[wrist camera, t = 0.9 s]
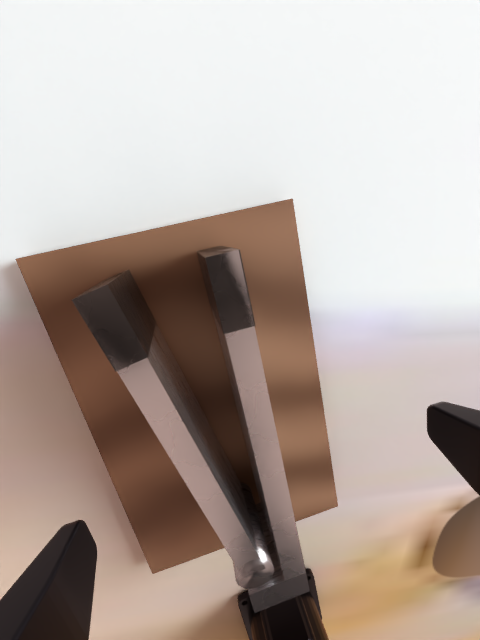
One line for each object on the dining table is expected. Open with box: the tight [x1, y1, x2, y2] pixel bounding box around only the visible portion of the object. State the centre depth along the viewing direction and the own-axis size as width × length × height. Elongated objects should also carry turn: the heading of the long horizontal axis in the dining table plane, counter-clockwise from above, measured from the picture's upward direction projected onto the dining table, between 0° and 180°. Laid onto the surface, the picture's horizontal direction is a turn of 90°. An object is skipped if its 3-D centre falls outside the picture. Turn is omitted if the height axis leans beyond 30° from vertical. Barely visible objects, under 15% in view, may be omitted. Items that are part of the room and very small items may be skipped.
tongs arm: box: [72, 270, 274, 589], centre depth 15 cm, size 17×2×5 cm, turn 22°
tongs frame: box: [197, 245, 310, 613], centre depth 16 cm, size 19×3×5 cm, turn 12°
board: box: [16, 199, 338, 574], centre depth 19 cm, size 22×14×1 cm, turn 12°
